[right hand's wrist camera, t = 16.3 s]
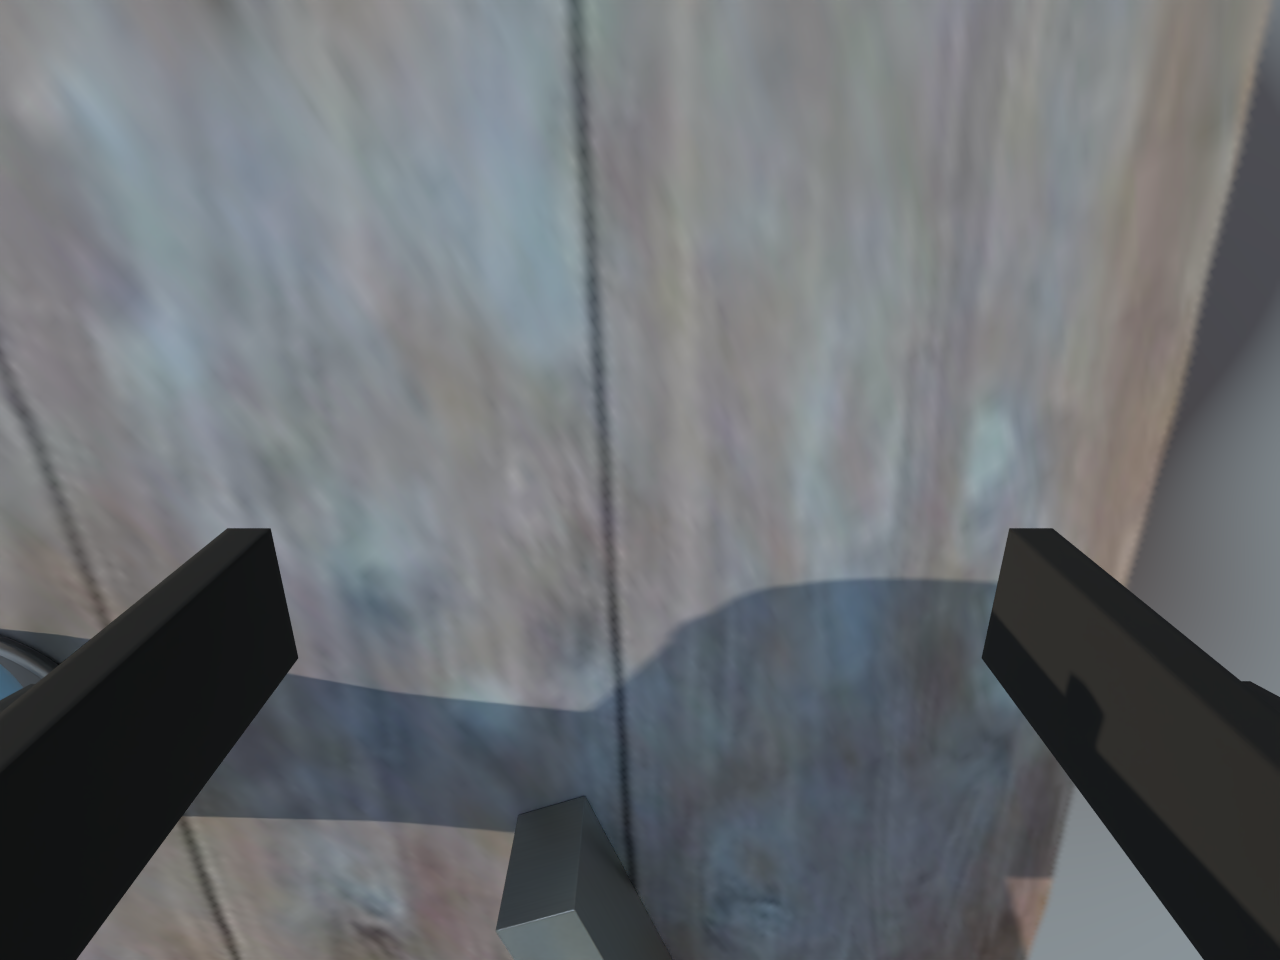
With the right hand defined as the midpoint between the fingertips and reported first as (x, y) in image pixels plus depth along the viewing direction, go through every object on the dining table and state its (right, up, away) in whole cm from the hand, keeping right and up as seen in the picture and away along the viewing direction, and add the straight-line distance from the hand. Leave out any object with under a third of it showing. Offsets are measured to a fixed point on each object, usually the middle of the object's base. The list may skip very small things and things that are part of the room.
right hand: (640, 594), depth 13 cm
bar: (-2, -31, +42) cm, 52 cm away
